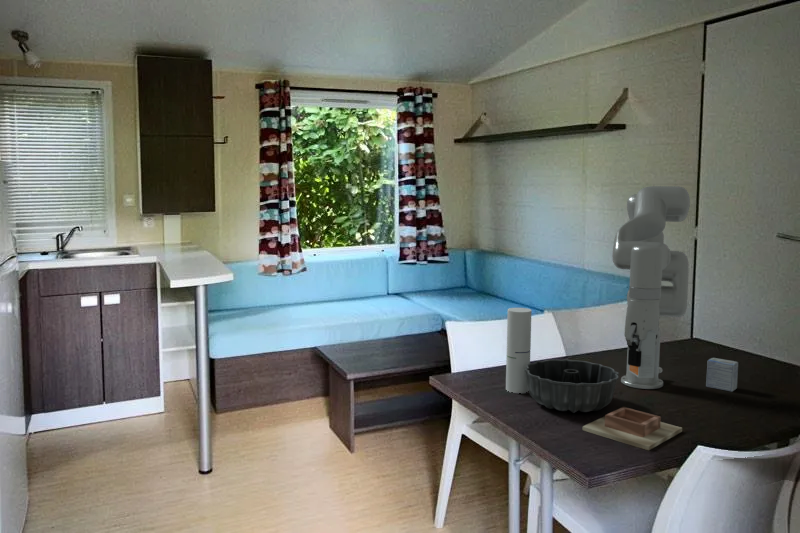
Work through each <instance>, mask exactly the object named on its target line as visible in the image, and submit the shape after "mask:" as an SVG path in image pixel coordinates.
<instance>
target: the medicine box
mask: <svg viewBox="0 0 800 533" xmlns="http://www.w3.org/2000/svg"><path fill="white" fill-rule="evenodd" d="M706 366H707V368H706V379H705V380H706V382H705V387H707V388H712V389H717V390H723V391H727V392H734V391H735V390H736V389H737V388H738V376H739V375H738V372H739V362H738V361H736V360H735V361H734V360H729V359H723V358H716V357H711V358H709V359H708V360H707V364H706Z"/></svg>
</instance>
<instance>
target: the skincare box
mask: <svg viewBox="0 0 800 533" xmlns="http://www.w3.org/2000/svg"><path fill="white" fill-rule="evenodd" d="M634 338H639V337H637V336H634ZM634 342H636V344H637V343H638V341H634ZM655 346H656V331H654V330H651V331H649V332H648V333H647V337H646V339H645V340H643V341H642V344H641V348H640V351H642V353H641V366H640V367H636V366H632V365H629V372H631V373H632V374H634V375H635V376H637V377H638V378H654V365H655Z"/></svg>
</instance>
